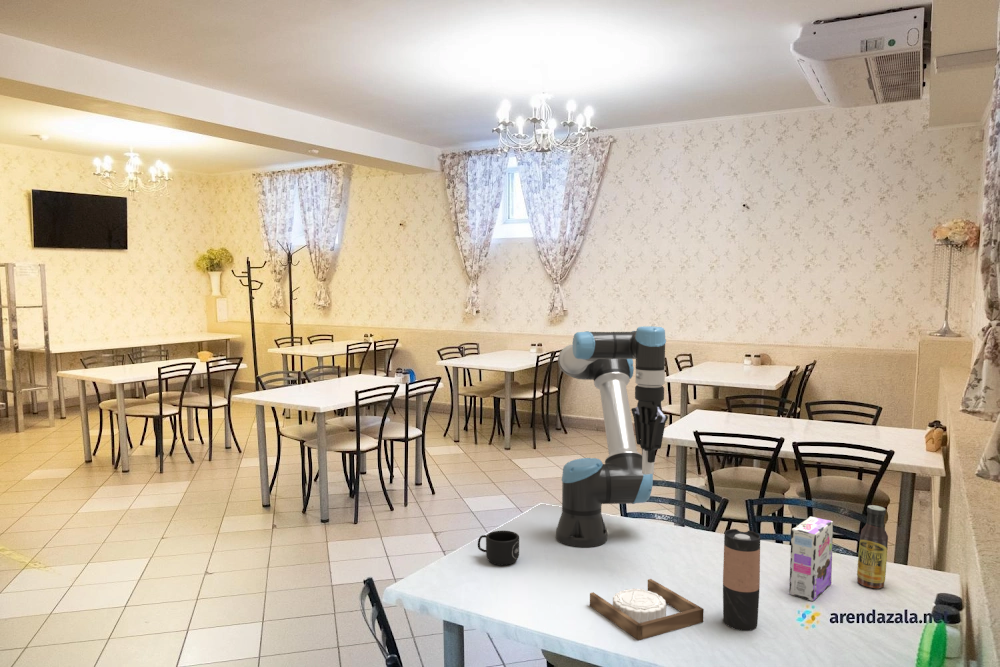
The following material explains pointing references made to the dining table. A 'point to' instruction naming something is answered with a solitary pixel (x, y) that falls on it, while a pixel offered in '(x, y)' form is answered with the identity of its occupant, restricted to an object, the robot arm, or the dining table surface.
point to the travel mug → (741, 579)
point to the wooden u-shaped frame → (685, 618)
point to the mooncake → (640, 604)
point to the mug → (501, 547)
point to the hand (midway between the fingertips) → (647, 473)
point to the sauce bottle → (873, 549)
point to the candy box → (811, 558)
